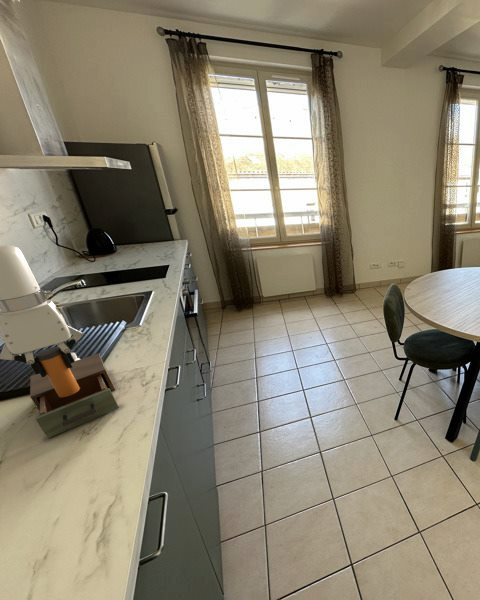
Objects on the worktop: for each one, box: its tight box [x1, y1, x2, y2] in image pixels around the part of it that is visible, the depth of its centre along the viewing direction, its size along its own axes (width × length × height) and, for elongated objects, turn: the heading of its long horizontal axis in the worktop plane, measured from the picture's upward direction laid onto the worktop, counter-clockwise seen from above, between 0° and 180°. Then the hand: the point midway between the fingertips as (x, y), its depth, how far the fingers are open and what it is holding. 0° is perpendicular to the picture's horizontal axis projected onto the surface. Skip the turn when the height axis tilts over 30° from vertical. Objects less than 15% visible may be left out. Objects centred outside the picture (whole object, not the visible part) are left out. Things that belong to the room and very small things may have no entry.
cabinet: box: [29, 353, 116, 413], centre depth 91 cm, size 14×15×8 cm
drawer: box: [35, 374, 120, 439], centre depth 83 cm, size 17×13×6 cm
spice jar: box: [34, 346, 80, 397], centre depth 80 cm, size 4×4×12 cm
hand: (57, 369), depth 80 cm, fingers closed on spice jar, 4 cm apart
